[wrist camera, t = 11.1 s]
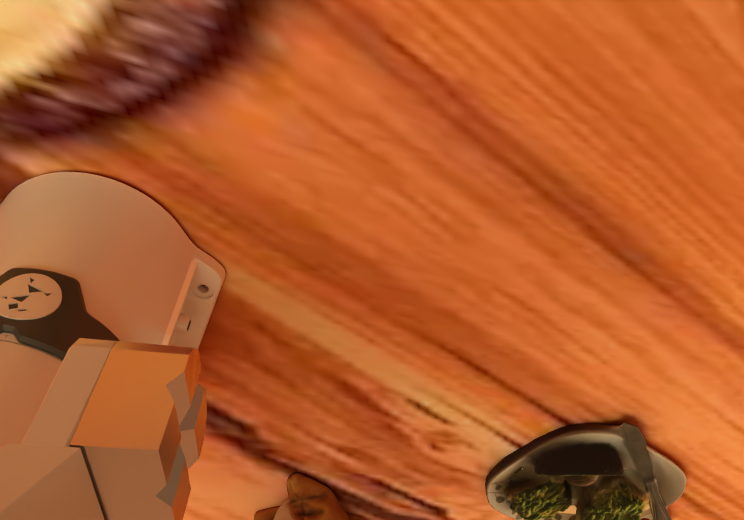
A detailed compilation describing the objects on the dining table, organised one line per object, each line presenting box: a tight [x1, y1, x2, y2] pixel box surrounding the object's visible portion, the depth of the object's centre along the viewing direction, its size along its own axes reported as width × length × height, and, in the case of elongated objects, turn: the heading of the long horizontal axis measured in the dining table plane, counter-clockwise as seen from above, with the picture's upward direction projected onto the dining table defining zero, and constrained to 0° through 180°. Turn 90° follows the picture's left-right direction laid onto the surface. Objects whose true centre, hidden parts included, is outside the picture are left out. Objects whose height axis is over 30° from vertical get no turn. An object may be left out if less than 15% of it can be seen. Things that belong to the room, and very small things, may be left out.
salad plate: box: [485, 423, 686, 520], centre depth 67 cm, size 19×18×5 cm
